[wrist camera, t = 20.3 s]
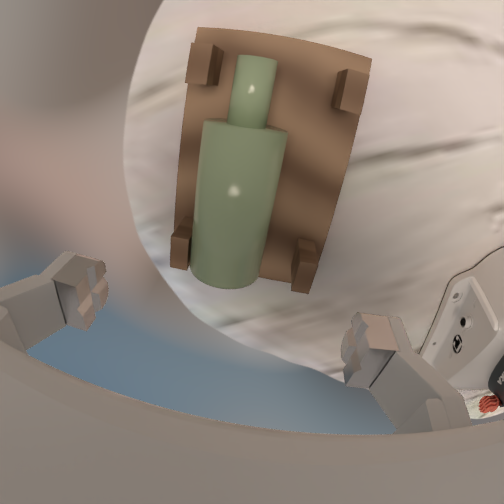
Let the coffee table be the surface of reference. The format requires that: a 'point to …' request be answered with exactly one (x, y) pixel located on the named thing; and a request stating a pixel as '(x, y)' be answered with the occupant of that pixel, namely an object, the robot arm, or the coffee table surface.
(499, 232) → the coffee table surface
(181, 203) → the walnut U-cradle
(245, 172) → the olive glass bottle
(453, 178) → the coffee table surface
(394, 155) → the coffee table surface
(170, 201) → the coffee table surface
